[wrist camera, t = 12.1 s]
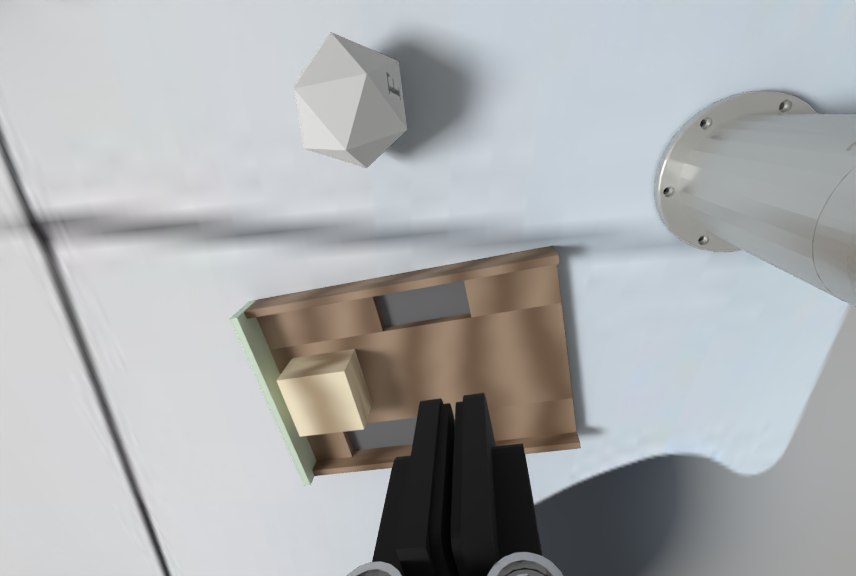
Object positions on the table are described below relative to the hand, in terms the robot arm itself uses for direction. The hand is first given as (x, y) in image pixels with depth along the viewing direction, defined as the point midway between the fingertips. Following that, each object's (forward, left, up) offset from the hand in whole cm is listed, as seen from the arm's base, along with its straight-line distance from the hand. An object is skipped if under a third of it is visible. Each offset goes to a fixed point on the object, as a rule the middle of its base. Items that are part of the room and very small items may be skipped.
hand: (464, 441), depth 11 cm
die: (+7, -10, -29) cm, 32 cm away
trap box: (+9, +16, -29) cm, 34 cm away
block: (+18, +15, -28) cm, 36 cm away
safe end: (+23, +16, -29) cm, 41 cm away
